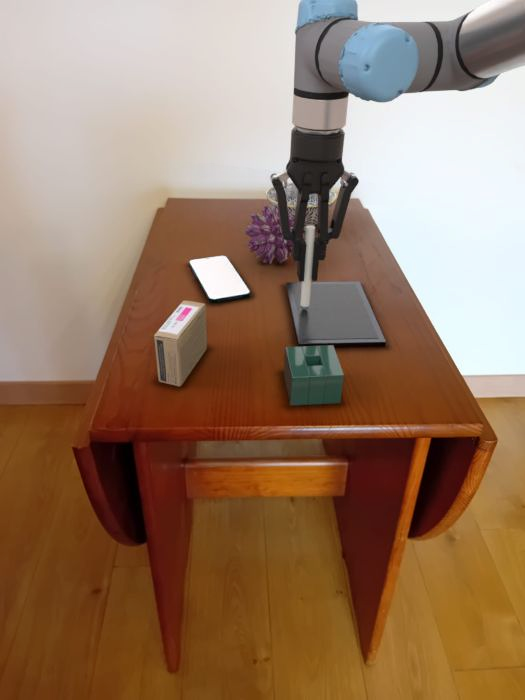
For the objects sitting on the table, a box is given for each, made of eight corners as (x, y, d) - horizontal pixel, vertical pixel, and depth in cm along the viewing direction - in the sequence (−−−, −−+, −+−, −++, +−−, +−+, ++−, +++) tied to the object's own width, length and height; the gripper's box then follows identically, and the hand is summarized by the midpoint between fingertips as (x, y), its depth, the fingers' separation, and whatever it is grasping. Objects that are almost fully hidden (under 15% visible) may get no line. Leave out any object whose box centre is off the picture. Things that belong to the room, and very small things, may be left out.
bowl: (256, 233, 121) (256, 200, 117) (275, 208, 134) (276, 178, 129) (325, 243, 118) (329, 210, 113) (339, 217, 130) (342, 186, 126)
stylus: (311, 310, 93) (317, 227, 84) (304, 313, 92) (310, 229, 83) (304, 306, 94) (310, 224, 85) (298, 309, 93) (303, 226, 84)
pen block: (340, 403, 75) (344, 375, 72) (290, 405, 74) (292, 377, 71) (330, 372, 80) (333, 344, 78) (283, 374, 80) (285, 346, 77)
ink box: (186, 344, 85) (183, 298, 81) (209, 349, 85) (207, 302, 80) (156, 382, 78) (151, 334, 73) (181, 388, 77) (177, 339, 72)
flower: (243, 257, 114) (295, 240, 116) (261, 282, 105) (317, 262, 107) (231, 206, 107) (286, 189, 109) (249, 227, 98) (309, 208, 100)
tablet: (385, 346, 86) (386, 341, 85) (298, 348, 85) (298, 343, 85) (358, 286, 102) (359, 281, 102) (285, 286, 101) (285, 281, 101)
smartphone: (251, 297, 98) (225, 258, 110) (252, 293, 97) (225, 254, 109) (209, 304, 96) (187, 264, 108) (209, 300, 95) (187, 260, 107)
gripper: (362, 120, 79) (344, 265, 93) (263, 121, 78) (260, 267, 92) (376, 134, 73) (355, 286, 87) (269, 134, 72) (265, 289, 86)
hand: (306, 276), depth 89 cm, fingers closed on stylus, 1 cm apart
